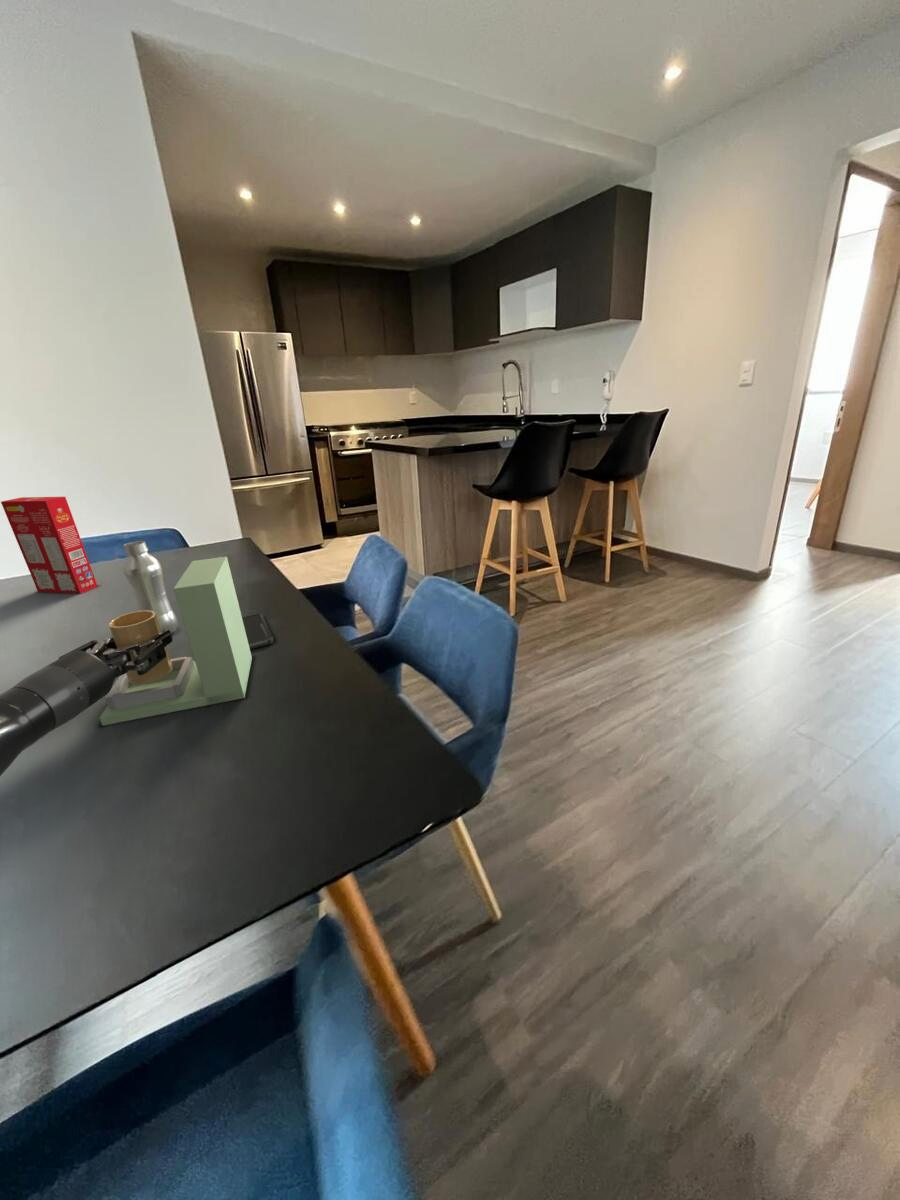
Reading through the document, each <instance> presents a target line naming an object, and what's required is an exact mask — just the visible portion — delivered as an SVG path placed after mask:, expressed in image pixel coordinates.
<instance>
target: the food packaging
mask: <svg viewBox="0 0 900 1200" xmlns="http://www.w3.org/2000/svg"><path fill="white" fill-rule="evenodd" d="M0 504H1V506H2V509H3V511H4V514H5V515H6V519H7V521H8V523H9V525H10V528H11V531H12V533H13V535H14V537H15V539H16V542H17V545H18V547H19V550H20V552H21V554H22V557H23V559H24V561H25V564H26V566H27V569H28V572H29V573H30V576H31V578H32V581H33V583H34V586H35V589H36V590H37V593H58V594H83V593H85V592H89V591H90V590H93V589H95V588H97V587H98V583H97V580H96V577H95V575H94V572H93V569H92V567H91V563H90V562H89V561H90V560H89V558H88V555H87V553H86V550H85V547H84V544H83V541H82V539H81V535H80V534H79V530H78V527H77V525H76V522H75V520H74V517H73V513H72V511H71V508H70V506H69V503H68V500H67V497H66V496H36V497H35V496H30V497H29V496H27V497H26V496H25V497H24V496H23V497H15V498H12V499H7V500H6V499H5V500H2V501H0Z"/></svg>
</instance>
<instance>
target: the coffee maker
mask: <svg viewBox="0 0 900 1200" xmlns="http://www.w3.org/2000/svg"><path fill="white" fill-rule="evenodd" d="M173 593H174V595H175V600H176V602H177V603H176V604H177V606H178V609H179V612H180V613H179V614H180V616H181V619H182V623H183V626H184V628H185V632H186V636H187V639H188V643H189V645H190V650H191V652H192V655H193V657H192V656H188V657H187V656H180V657H175V658H170V659H171V662H172V667H173V669H172V671H171V672H170V673H169V674H168V675H166V676H165V677H163V678H161V679H159V680H156V681H153V682H150V683H145V684H132V683H130V682H129V680H128V678H127V675H126V673H125V674H123V675H121V676H119V677H117V679H116V681H115V683H113V685H112V688H111V690H110V692H109V693H108V694H107V695H105V701H106V704H107V705H106V706H105V708H104V710H103V711H102V712H101V715H100V716H99V721H100V724H101V726H107V725H108V726H109V725H112V724H119V723H123V722H128V721H135V720H138V719H139V720H140V719H144V718H148V717H155V716H159V715H163V714H170V713H175V712H179V711H185V710H189V709H194V708H199V707H204V706H210V705H215V704H219V703H225V702H230V701H236V700H241V699H245V698H246V692H247V688H248V687H247V686H248V681H249V676H250V675H249V674H250V670H251V665H252V660H253V657H252V652H251V650H250V648H249V644H248V640H247V636H246V632H245V628H244V624H243V620H242V617H243V616H242V612H241V608H240V604H239V600H238V596H237V592H236V588H235V583H234V581H233V576H232V572H231V568H230V565H229V559H228V556H219V557H213V558H205V559H204V558H203V559H198V560H192V561H191V562H190V564H189V565H188V567H186V570H185V571H184V572H183V574H182V575H181V577H180V578H179V579H178V581H177V582H176V584H175V586H174V587H173Z"/></svg>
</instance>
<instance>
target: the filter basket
mask: <svg viewBox="0 0 900 1200" xmlns="http://www.w3.org/2000/svg"><path fill="white" fill-rule="evenodd" d="M107 626H108V629H109V631H110V634H111V638H112V637H113V640H114V642H115V645H116V648H117V649H118V648H120V647H123V646H126V645H128V644H131V643H136V644H140V643H142V642H145V641H148V640H149V639H151V638H152V637H154V636H156V635H157V634H159V633H160V632H162V631H161V628H160V625H159V622H158V619H157V616H156V613H155V612H154V611H149V610H144V611H139V610H137V611H131V612H127V613H124V614H121V615H119V616H117V617H115V618H113V619H111V620H110V621H109V622H108V623H107ZM147 648H148V647H145V648H143V649H142V650H141V652H143V651H144V650H146V649H147ZM164 649H165V652H166V655H167V656H166V657H165V658H164V659H163V660H162V661H160V662H159V663H158V664H157V665H156V666H154V667H153V668H152V669H151V670H150V671H148V672H147V673H146V674H144V675H138V674H137V671H136V670H130V671H128V672H127V673H126V675H127V678H128V680H129V682H130V683H132V684H145V683H150V682H153V681H156V680H159V679H161V678H163V677H165V676H166V675H168V674H169V673H170V672H171V671H172V669H173V667H172V662H171V659H172V658H171V655H170V653H169V650H168V646H165V647H164ZM128 652H129V653H130V656H131V659H132V661H133V659H134V658H135V656H134V653H133V650H130V651H128Z"/></svg>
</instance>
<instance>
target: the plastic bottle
mask: <svg viewBox="0 0 900 1200" xmlns="http://www.w3.org/2000/svg"><path fill="white" fill-rule="evenodd" d="M123 548H124V551H125V555H126V556H128V557H127V560H126V562H125V564H124V567H123V573H124V576H125V578H126V580H127V582H128V584H129V586H130V588H131V589H132V593H133V594H134V597H135V600H136V603H137V607H138V611H144V610H149V611H154V612H155V613H156V616H157V619H158V622H159V625H160V628H161V631H163V630H170V632H171V634H173V633H174V632H175V631H176V630H177V629H178V617H177V615H176V613H175V612H174V610H173V608H172V606H171V603H170V600H169V598H168V595H167V592H166V587H165V582H164V575H163V568H162V564H161V563H160V561H159V560H158V559H157V558H156V557H155V556H153V555H152V554H150V553H149V552H148V551H149V548H148V546H147V543H146V541H145V540H136V541H131V542H127V543H124V544H123Z"/></svg>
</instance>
